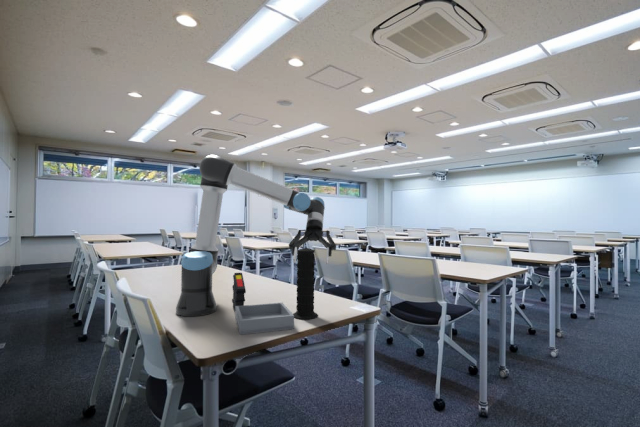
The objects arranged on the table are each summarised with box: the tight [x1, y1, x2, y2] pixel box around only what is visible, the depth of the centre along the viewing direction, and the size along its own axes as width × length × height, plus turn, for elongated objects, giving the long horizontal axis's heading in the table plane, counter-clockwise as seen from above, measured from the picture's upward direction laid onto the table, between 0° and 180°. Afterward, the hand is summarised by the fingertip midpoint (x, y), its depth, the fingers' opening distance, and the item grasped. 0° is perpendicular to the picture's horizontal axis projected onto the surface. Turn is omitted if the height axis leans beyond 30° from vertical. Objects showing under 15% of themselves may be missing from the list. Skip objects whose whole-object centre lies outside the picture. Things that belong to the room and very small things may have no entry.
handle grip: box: [292, 247, 319, 321], centre depth 124 cm, size 10×26×10 cm
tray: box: [234, 302, 295, 335], centre depth 114 cm, size 18×18×4 cm
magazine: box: [231, 272, 247, 312], centre depth 130 cm, size 4×13×15 cm, turn 21°
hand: (310, 261), depth 131 cm, fingers open, 13 cm apart
